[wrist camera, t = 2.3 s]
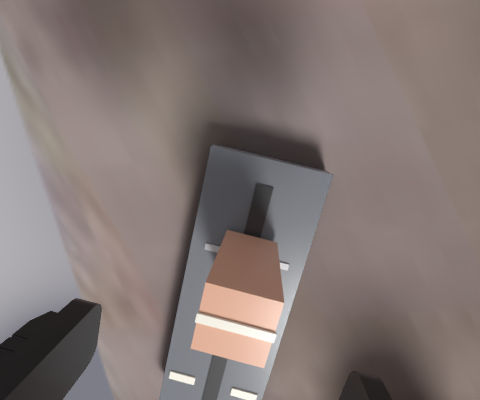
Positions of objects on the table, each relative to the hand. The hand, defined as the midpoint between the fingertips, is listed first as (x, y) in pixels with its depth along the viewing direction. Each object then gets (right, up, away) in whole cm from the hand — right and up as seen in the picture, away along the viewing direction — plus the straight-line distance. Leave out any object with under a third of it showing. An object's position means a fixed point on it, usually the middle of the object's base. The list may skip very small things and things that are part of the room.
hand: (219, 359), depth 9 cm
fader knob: (+1, +1, +8) cm, 8 cm away
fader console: (0, -1, +11) cm, 11 cm away
